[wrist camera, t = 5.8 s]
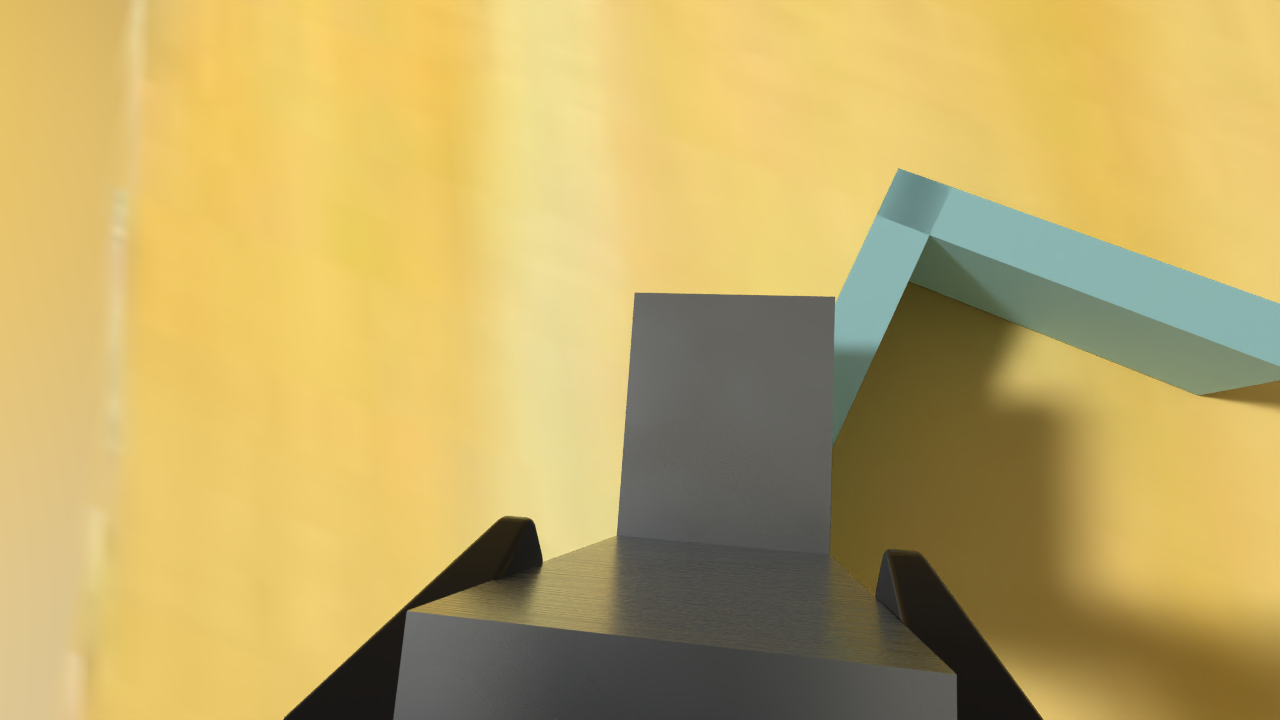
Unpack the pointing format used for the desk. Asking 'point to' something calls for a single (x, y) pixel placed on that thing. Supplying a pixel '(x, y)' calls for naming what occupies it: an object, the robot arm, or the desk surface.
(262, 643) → the desk surface
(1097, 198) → the desk surface
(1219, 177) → the desk surface
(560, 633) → the grey l-shaped block
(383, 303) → the desk surface
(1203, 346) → the teal corner wall
